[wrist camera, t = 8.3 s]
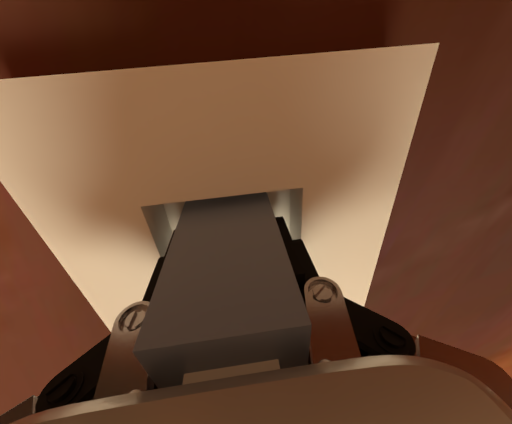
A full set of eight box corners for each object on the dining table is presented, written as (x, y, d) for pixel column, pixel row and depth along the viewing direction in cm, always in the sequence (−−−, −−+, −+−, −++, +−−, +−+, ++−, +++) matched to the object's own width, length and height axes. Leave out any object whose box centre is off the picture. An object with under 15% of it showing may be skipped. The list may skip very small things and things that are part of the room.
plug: (266, 191, 11) (329, 375, 4) (270, 264, 14) (313, 450, 7) (185, 201, 11) (111, 410, 4) (205, 273, 13) (181, 475, 7)
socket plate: (385, 52, 10) (454, 40, 7) (340, 289, 18) (363, 331, 15) (13, 83, 9) (-96, 85, 6) (144, 317, 17) (126, 367, 14)
